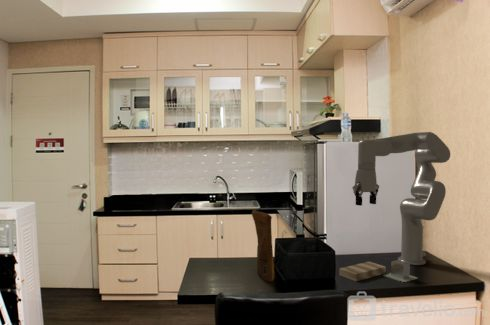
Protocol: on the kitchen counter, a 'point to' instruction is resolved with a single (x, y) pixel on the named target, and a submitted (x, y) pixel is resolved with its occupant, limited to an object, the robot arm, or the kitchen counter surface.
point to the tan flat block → (362, 271)
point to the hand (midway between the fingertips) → (365, 204)
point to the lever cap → (400, 269)
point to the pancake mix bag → (264, 245)
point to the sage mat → (400, 278)
